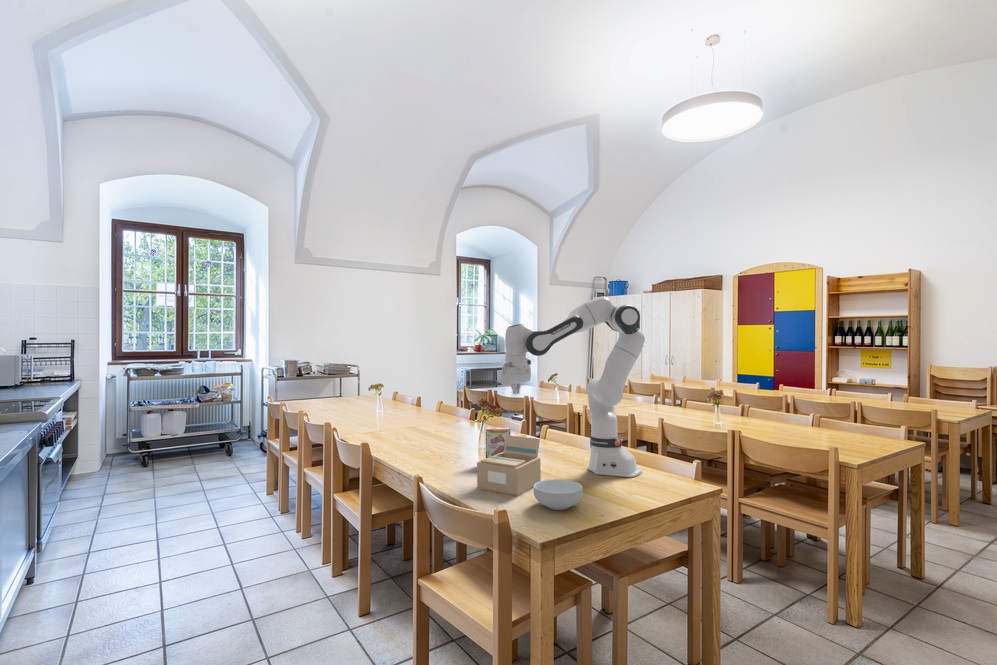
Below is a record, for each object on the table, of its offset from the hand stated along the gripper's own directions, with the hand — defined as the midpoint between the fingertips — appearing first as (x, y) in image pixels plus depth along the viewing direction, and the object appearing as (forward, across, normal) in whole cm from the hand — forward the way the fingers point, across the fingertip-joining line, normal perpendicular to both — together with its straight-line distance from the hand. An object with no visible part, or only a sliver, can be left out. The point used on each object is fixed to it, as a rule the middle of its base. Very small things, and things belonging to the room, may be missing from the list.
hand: (516, 393), depth 216 cm
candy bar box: (+33, +4, +12) cm, 36 cm away
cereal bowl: (+33, -31, -34) cm, 57 cm away
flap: (+23, -24, -8) cm, 34 cm away
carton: (+33, -20, -8) cm, 39 cm away
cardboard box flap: (+19, -10, -8) cm, 23 cm away
